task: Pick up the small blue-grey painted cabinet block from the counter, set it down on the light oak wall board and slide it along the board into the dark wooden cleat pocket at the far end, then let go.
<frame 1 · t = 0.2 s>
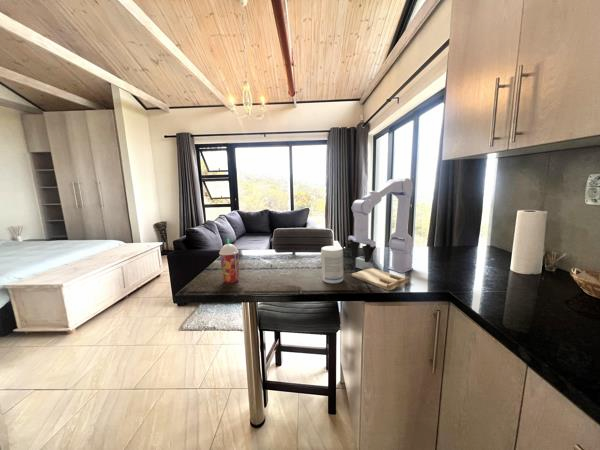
hand: (360, 259, 103), 10 cm above the worktop, tool pointing down, fingers open, 7 cm apart
cabinet block: (362, 267, 123), on the worktop
smoothie: (231, 281, 110), on the worktop
wall board: (379, 279, 107), on the worktop
supplement tub: (332, 280, 108), on the worktop
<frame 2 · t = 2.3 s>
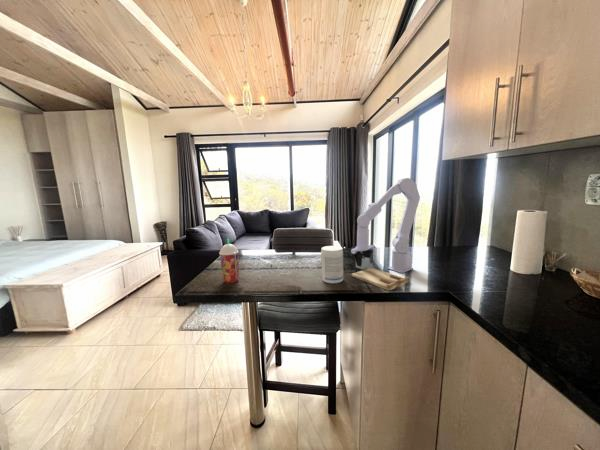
hand: (362, 264, 123), 1 cm above the worktop, tool pointing down, fingers closed on cabinet block, 4 cm apart
cabinet block: (362, 267, 123), on the worktop, touching gripper
everything else where it was.
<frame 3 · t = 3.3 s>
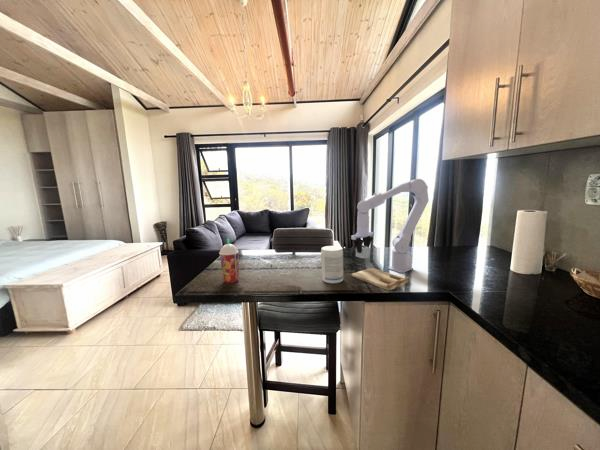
hand: (362, 251, 121), 8 cm above the worktop, tool pointing down, fingers closed on cabinet block, 4 cm apart
cabinet block: (362, 256, 122), point 6 cm above the worktop, touching gripper
everything else where it was.
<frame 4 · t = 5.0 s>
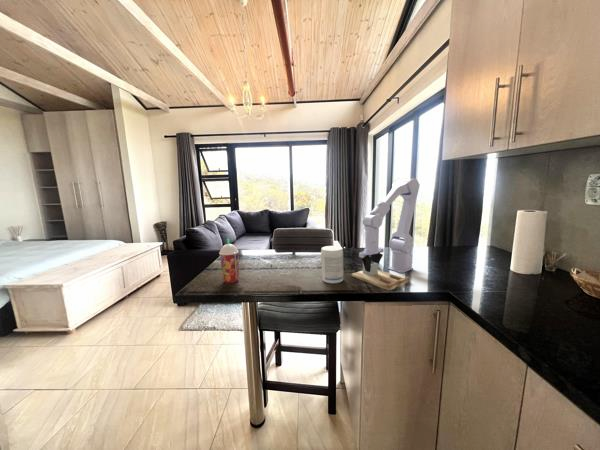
hand: (371, 269, 110), 3 cm above the worktop, tool pointing down, fingers closed on cabinet block, 4 cm apart
cabinet block: (370, 273, 111), point 1 cm above the worktop, touching gripper
everything else where it was.
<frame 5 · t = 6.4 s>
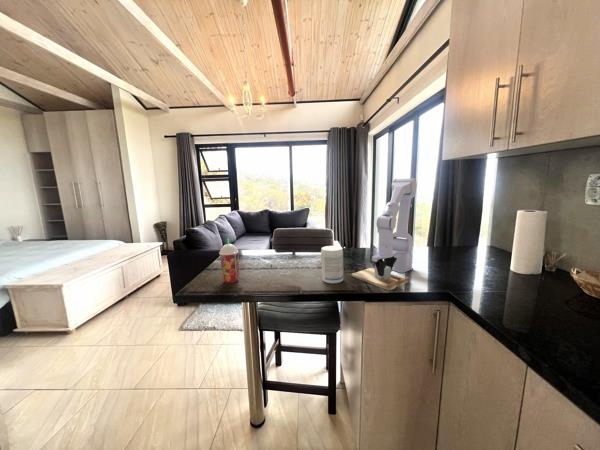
hand: (384, 274, 104), 3 cm above the worktop, tool pointing down, fingers closed on cabinet block, 4 cm apart
cabinet block: (382, 277, 106), point 1 cm above the worktop, touching gripper
everything else where it was.
when the fingers open (3 cm above the worktop, at t = 7.8 s): cabinet block stays where it is, resting on wall board.
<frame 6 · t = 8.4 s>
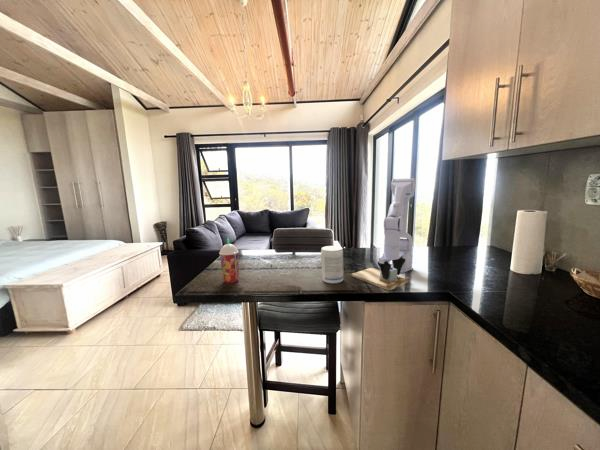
hand: (391, 276, 102), 3 cm above the worktop, tool pointing down, fingers open, 7 cm apart
cabinet block: (388, 279, 103), point 1 cm above the worktop, touching wall board
everything else where it was.
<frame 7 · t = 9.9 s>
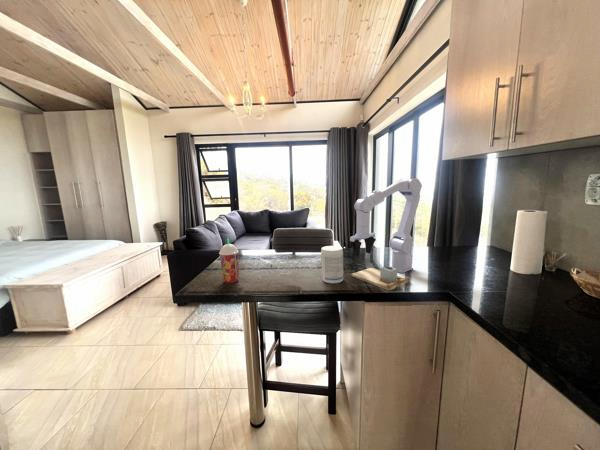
hand: (362, 254, 111), 10 cm above the worktop, tool pointing down, fingers open, 7 cm apart
nothing on the worktop moved.
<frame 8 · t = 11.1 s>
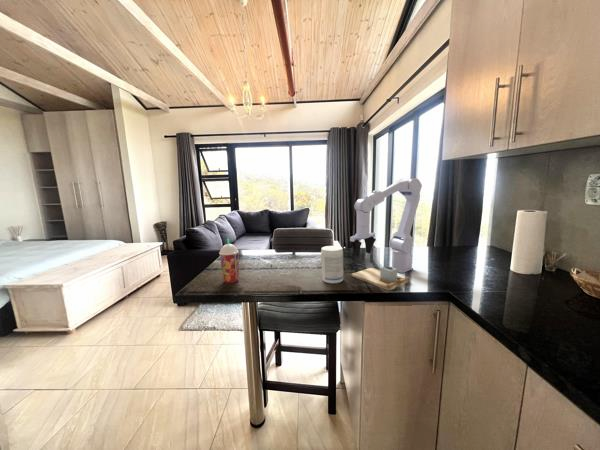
hand: (362, 254, 111), 10 cm above the worktop, tool pointing down, fingers open, 7 cm apart
nothing on the worktop moved.
at the end: cabinet block 0.8 cm from the target spot on the wall board, point 1.2 cm above the wall board's base; cabinet block tilted 0°; the gripper is holding nothing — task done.
